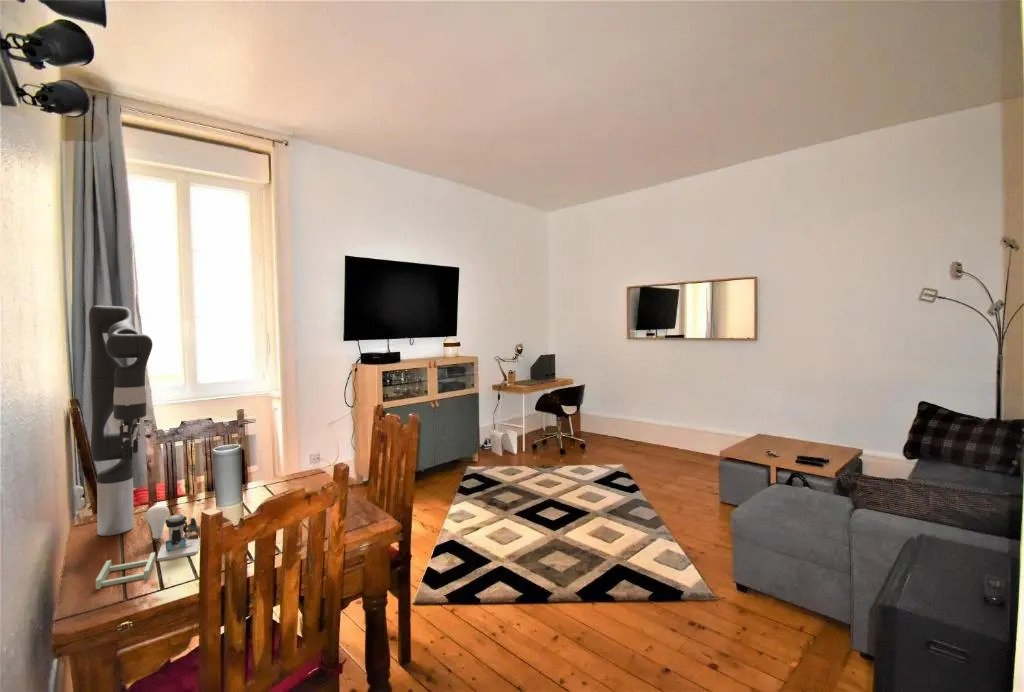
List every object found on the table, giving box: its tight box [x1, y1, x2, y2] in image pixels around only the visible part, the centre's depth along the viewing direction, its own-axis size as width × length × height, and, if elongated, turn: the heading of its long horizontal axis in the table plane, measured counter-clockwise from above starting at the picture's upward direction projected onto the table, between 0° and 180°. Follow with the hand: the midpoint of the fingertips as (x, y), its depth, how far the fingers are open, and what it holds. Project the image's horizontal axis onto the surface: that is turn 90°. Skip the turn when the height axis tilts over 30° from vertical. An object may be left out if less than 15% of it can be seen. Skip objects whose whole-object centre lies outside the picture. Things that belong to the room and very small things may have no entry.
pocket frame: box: [95, 551, 156, 590], centre depth 131 cm, size 12×11×2 cm
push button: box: [165, 513, 192, 552], centre depth 145 cm, size 7×5×10 cm
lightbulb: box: [145, 504, 170, 540], centre depth 153 cm, size 6×6×11 cm
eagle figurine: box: [179, 517, 201, 540], centre depth 155 cm, size 8×7×9 cm
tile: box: [156, 537, 201, 562], centre depth 145 cm, size 10×10×1 cm
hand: (130, 456), depth 140 cm, fingers open, 8 cm apart
